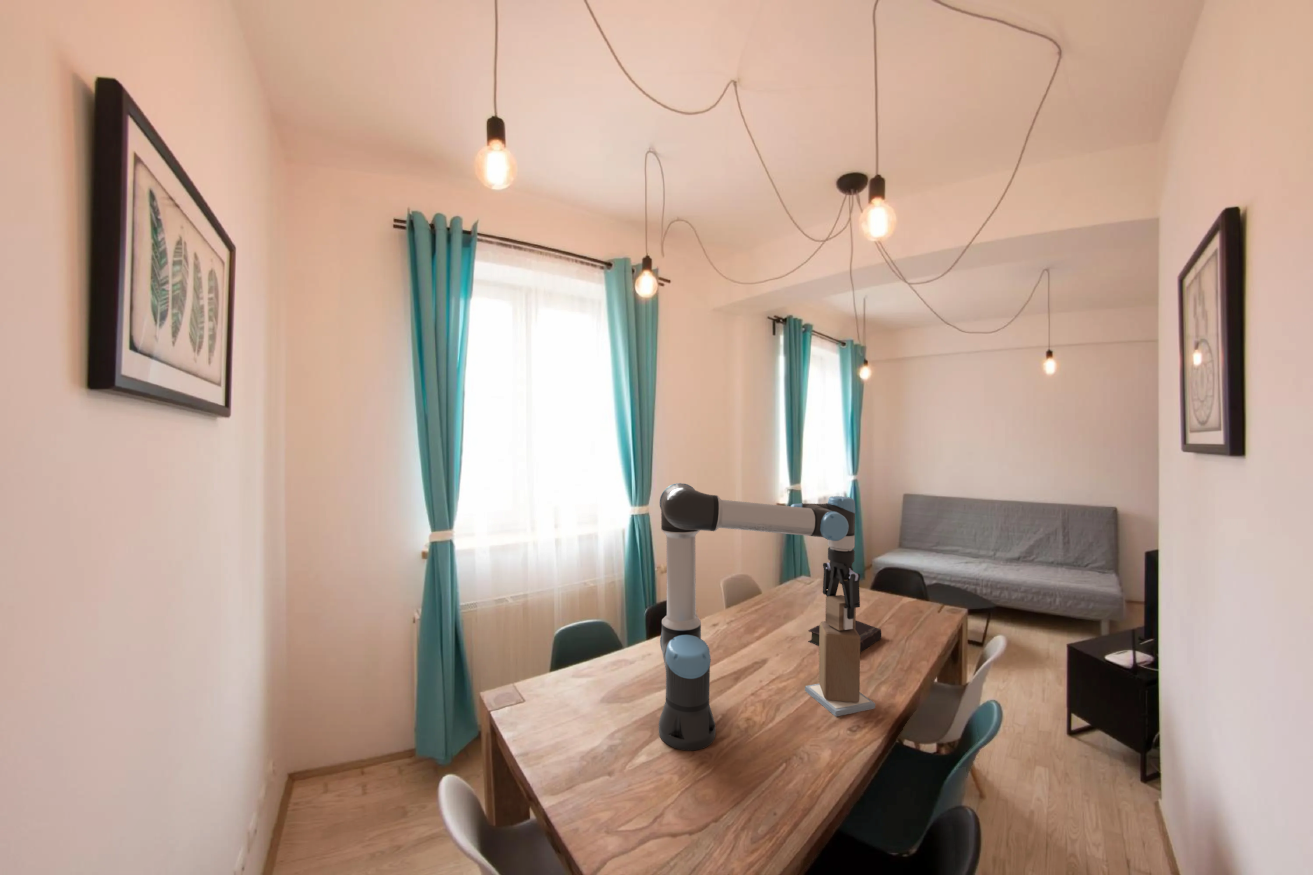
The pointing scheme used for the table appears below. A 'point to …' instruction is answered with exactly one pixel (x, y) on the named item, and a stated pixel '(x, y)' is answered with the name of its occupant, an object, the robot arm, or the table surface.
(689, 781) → the table surface
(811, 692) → the board
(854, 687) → the block
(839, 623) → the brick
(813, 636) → the diary
